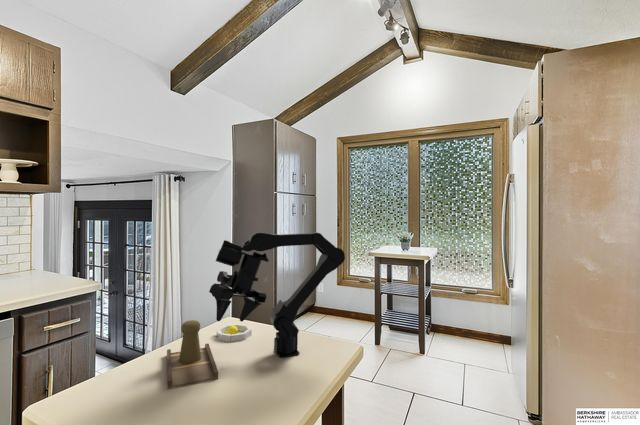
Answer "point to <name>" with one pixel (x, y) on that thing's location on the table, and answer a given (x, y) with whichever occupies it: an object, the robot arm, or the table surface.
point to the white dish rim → (234, 337)
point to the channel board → (190, 369)
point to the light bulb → (232, 330)
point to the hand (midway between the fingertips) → (229, 321)
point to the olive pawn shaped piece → (190, 342)
